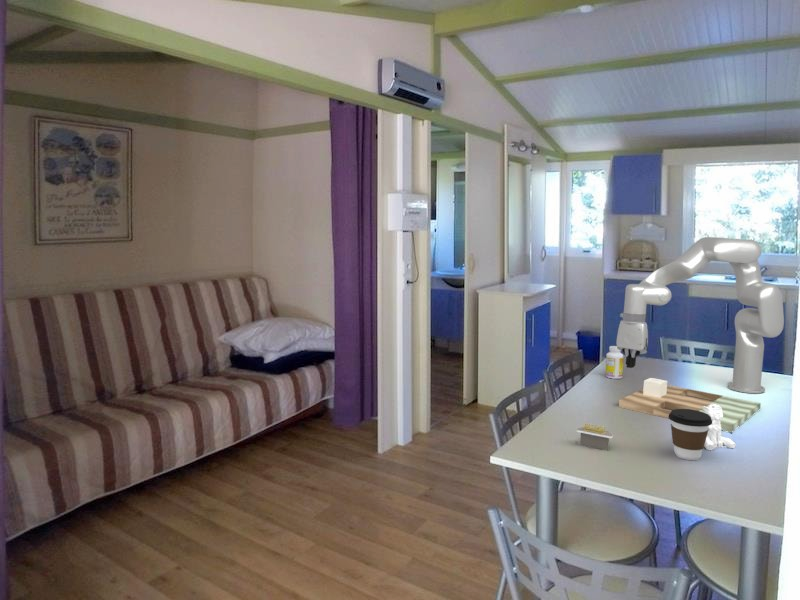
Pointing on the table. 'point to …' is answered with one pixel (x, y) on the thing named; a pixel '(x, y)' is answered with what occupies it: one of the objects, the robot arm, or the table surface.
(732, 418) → the board
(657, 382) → the block
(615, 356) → the supplement bottle
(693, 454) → the coffee cup
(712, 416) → the white creature statuette
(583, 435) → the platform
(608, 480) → the table surface
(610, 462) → the table surface
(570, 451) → the table surface
